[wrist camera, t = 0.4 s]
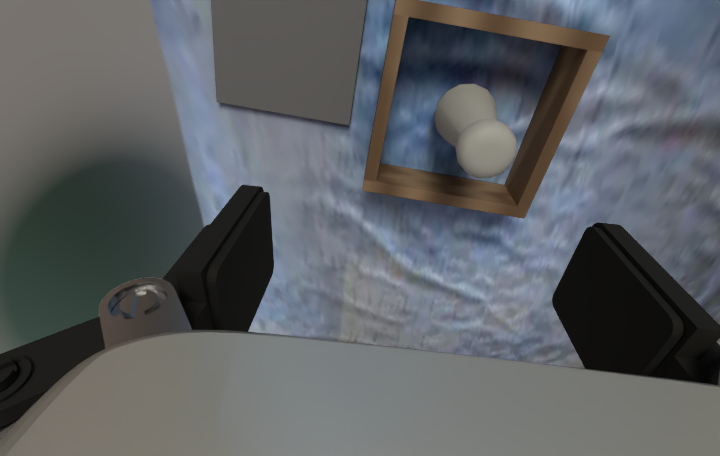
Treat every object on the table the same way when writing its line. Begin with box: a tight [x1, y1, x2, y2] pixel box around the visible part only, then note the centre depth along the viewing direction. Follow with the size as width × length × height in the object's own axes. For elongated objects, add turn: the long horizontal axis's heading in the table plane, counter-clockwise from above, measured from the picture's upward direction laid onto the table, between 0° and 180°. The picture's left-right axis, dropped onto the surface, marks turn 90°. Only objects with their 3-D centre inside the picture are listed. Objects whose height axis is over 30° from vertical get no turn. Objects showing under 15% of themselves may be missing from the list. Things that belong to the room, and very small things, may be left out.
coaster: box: [211, 0, 367, 125], centre depth 35 cm, size 14×14×1 cm
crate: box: [362, 0, 610, 218], centre depth 35 cm, size 17×17×5 cm
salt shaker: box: [434, 84, 517, 178], centre depth 32 cm, size 6×6×13 cm
